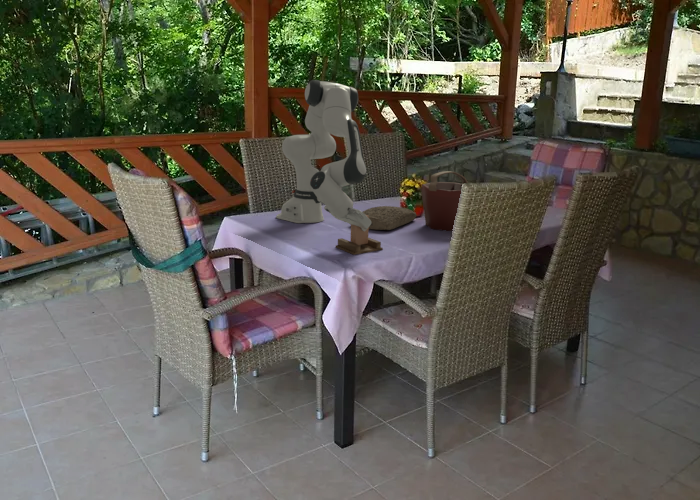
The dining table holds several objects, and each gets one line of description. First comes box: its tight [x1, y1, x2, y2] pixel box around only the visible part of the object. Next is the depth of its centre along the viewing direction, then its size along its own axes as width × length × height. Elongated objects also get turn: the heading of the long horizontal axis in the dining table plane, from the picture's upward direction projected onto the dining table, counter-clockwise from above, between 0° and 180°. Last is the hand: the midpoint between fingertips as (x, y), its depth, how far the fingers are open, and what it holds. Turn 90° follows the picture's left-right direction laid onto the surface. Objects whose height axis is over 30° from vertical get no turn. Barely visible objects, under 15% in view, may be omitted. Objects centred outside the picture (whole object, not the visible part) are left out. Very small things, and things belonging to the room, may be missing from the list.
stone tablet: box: [362, 205, 417, 231], centre depth 289 cm, size 20×8×30 cm
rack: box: [335, 236, 383, 256], centre depth 247 cm, size 14×12×3 cm
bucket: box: [421, 170, 469, 232], centre depth 285 cm, size 24×22×25 cm
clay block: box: [350, 215, 370, 245], centre depth 245 cm, size 6×4×11 cm, turn 126°
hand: (361, 228), depth 246 cm, fingers closed on clay block, 3 cm apart
